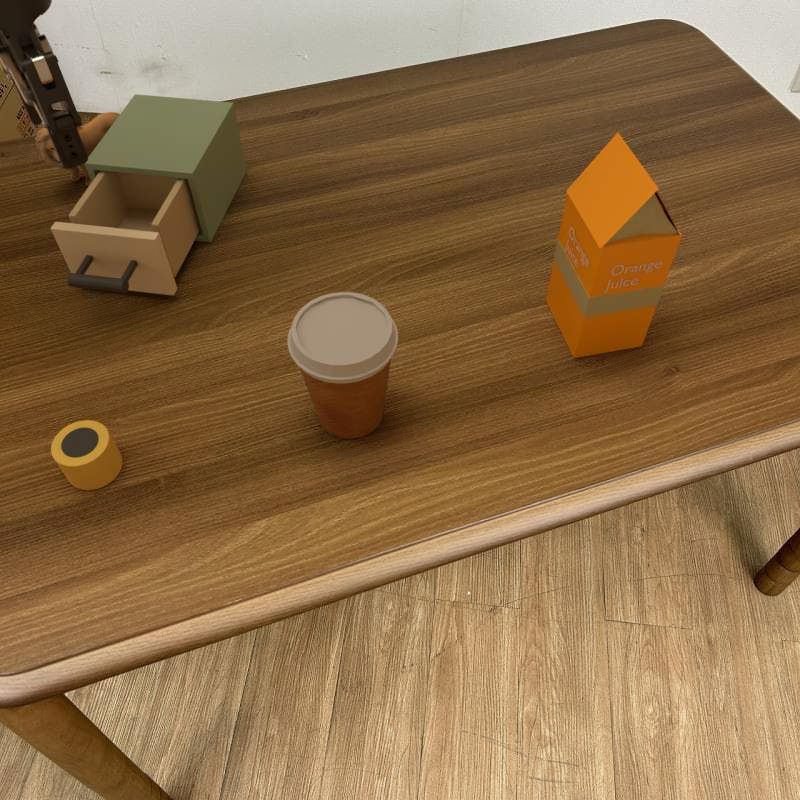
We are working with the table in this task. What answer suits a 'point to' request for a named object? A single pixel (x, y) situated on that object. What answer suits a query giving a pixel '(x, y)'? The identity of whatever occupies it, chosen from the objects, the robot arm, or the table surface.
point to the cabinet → (178, 150)
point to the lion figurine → (90, 139)
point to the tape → (87, 454)
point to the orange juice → (610, 255)
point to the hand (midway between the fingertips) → (59, 141)
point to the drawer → (129, 233)
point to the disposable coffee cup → (344, 359)
